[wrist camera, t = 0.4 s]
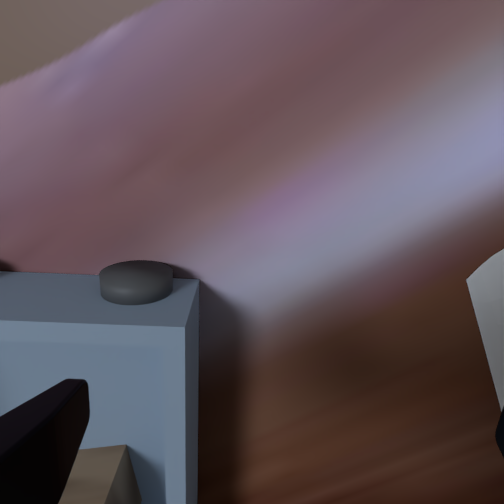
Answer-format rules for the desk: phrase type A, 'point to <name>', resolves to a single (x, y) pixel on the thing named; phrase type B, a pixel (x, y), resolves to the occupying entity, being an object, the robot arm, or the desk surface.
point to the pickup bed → (113, 362)
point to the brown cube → (102, 478)
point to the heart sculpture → (491, 315)
